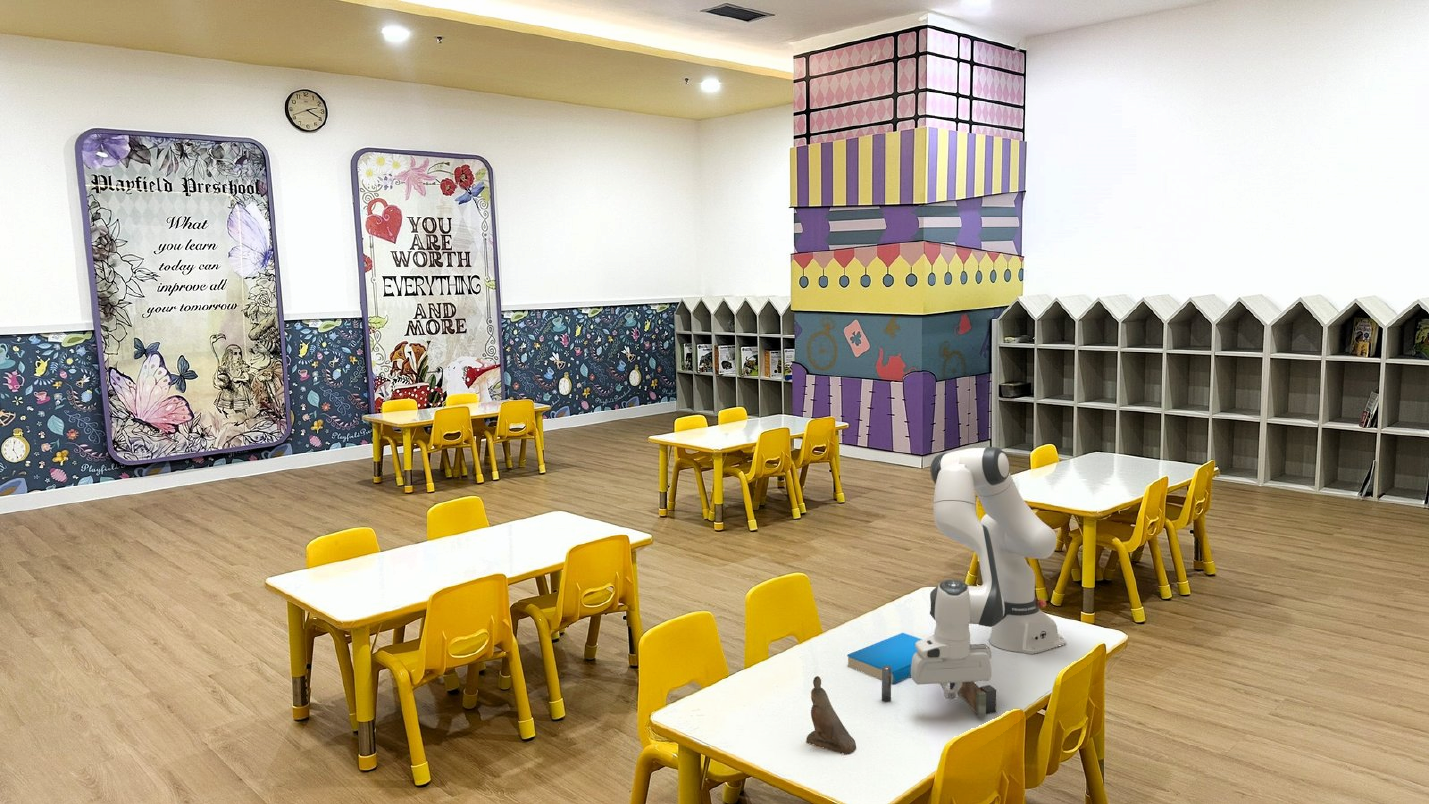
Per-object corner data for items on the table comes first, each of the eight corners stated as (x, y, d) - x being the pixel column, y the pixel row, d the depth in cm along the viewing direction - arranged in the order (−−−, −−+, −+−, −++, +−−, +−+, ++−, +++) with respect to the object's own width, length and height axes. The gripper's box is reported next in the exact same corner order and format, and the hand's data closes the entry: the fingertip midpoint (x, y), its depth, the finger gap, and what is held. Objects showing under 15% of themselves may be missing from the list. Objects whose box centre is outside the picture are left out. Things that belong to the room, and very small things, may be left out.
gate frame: (960, 685, 262) (960, 654, 260) (995, 712, 246) (996, 678, 245) (880, 699, 254) (880, 666, 253) (911, 727, 239) (912, 692, 237)
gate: (953, 688, 258) (953, 666, 257) (959, 687, 258) (960, 666, 257) (978, 717, 241) (979, 694, 240) (985, 716, 241) (986, 693, 241)
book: (846, 654, 275) (901, 631, 291) (846, 669, 276) (901, 644, 292) (894, 673, 262) (949, 647, 278) (894, 688, 263) (949, 661, 279)
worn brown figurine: (806, 752, 232) (791, 679, 232) (818, 743, 236) (804, 671, 236) (848, 757, 225) (834, 681, 224) (860, 747, 229) (845, 673, 229)
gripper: (986, 639, 248) (985, 690, 250) (909, 642, 246) (908, 694, 247) (996, 648, 242) (994, 700, 244) (917, 652, 239) (915, 705, 241)
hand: (950, 697), depth 245 cm, fingers closed
